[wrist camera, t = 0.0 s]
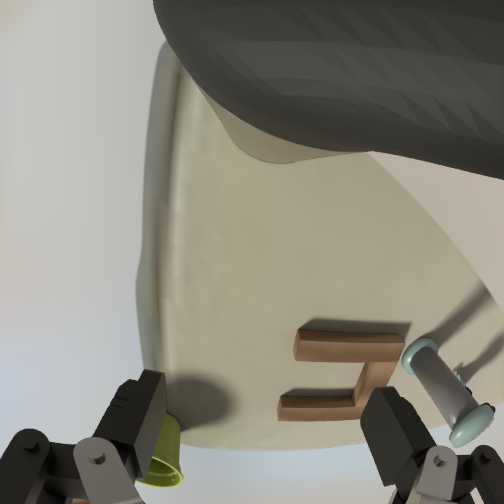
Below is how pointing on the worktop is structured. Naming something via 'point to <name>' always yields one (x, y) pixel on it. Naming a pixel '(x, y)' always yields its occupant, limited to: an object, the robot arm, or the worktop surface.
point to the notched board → (342, 350)
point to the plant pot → (166, 457)
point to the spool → (447, 392)
